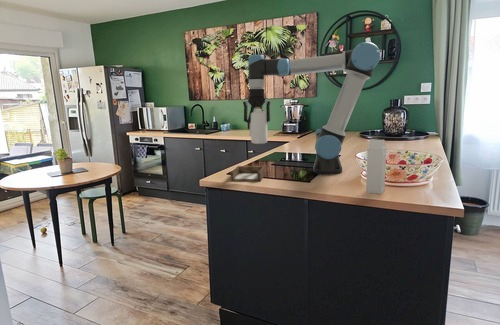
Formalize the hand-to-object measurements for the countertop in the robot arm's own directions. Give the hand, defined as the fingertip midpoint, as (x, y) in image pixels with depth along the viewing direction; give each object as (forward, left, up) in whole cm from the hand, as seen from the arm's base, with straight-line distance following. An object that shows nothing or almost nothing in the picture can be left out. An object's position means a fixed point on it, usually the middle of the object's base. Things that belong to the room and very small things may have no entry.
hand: (257, 135), depth 158 cm
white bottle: (-1, 0, -4) cm, 4 cm away
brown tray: (+5, 0, -22) cm, 22 cm away
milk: (-54, +20, -22) cm, 61 cm away
